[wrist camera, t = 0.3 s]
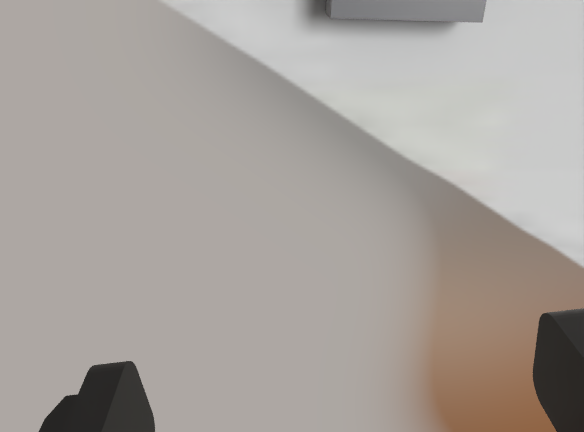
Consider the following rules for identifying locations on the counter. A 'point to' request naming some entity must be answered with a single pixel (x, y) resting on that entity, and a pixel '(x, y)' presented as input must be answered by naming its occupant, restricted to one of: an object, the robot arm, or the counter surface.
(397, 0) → the power strip
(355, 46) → the counter surface
